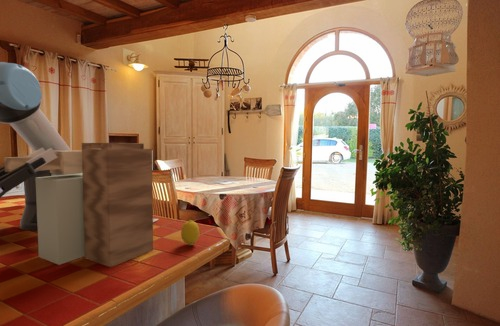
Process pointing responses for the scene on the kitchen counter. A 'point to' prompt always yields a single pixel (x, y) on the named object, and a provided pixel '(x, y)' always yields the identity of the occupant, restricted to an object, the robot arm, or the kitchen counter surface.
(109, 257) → the walnut stand
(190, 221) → the lemon
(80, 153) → the mallet
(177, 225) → the kitchen counter surface
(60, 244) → the sage block
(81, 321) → the kitchen counter surface
